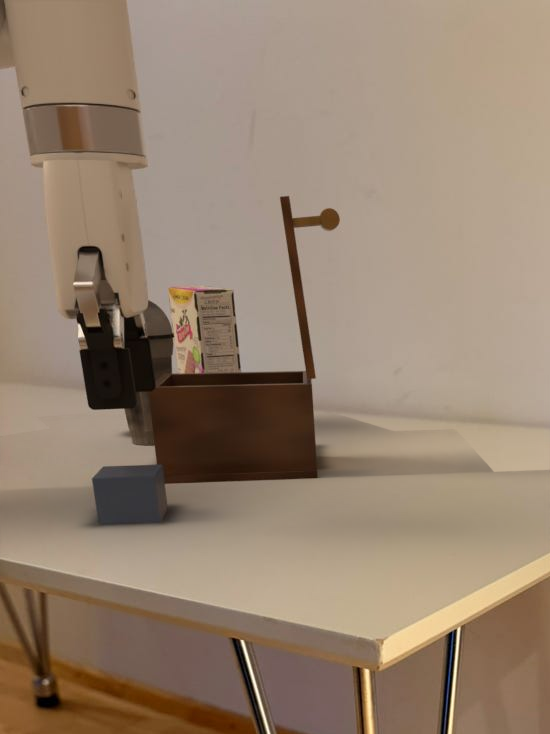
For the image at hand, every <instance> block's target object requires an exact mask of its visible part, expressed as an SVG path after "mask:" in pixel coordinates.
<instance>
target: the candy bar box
mask: <svg viewBox="0 0 550 734" xmlns="http://www.w3.org/2000/svg"><path fill="white" fill-rule="evenodd" d="M167 292H168V299H169V300H168V302H169V310H170V316H171V327H172V332H173V334H174V338H173V343H174V349H175V357H176V365H177V373H224V372H242V366H241V358H240V357H241V355H240V346H239V336H238V333H239V332H238V325H237V317H236V306H235V296H234V295H235V294H234V289H231V288H223V287H216V286H207V285H182V286H180V285H179V286H177V285H176V286H170V287H167Z"/></svg>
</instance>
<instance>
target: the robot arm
mask: <svg viewBox="0 0 550 734" xmlns="http://www.w3.org/2000/svg"><path fill="white" fill-rule="evenodd" d="M133 47H134V46H133V40H132V32H131V24H130V18H129V8H128V0H0V70H5V69H10V68H14V70H15V75H16V80H17V87H18V93H19V99H20V104H21V110H22V116H23V122H24V129H25V134H26V141H27V146H28V152H29V156H30V157H29V159H30V165H31V166H32V167H33V168H38V169H41V168H42V180H43V181H42V183H43V185H42V186H43V199H44V209H45V218H46V227H47V237H48V244H49V252H50V261H51V267H52V269H51V270H52V276H53V284H54V292H55V299H56V306H57V310H58V313H59V314H60V315H61V316H62V317H63V318H64V319H67V320H76V323H77V340H78V345H79V357H80V363H81V369H82V376H83V382H84V388H85V394H86V400H87V406H88V407H89V408H90V410H93V411H99V410H100V411H102V410H124V409H129V408H134V407H135V406H136V405H137V397H136V392H150V391H153V390H154V389H155V388H156V383H155V376H154V369H153V361H152V354H151V346H150V339H149V338H147V327H146V323H145V319H144V315H143V311H144V310H145V309H146V308H147V307H148V300H149V294H148V293H149V292H148V290H149V289H148V281H147V271H146V263H145V254H144V246H143V239H142V231H141V225H140V224H141V223H140V217H139V209H138V203H137V201H138V200H137V198H136V197H137V196H136V190H135V184H134V183H135V182H134V178H133V177H134V176H133V171H132V170H142V169H145V168H148V167H149V166H148V158H147V150H146V141H145V135H144V127H143V126H144V125H143V120H142V119H143V117H142V111H141V103H140V95H139V88H138V79H137V78H138V77H137V71H136V64H135V56H134V48H133Z"/></svg>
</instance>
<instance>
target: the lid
mask: <svg viewBox="0 0 550 734" xmlns="http://www.w3.org/2000/svg"><path fill="white" fill-rule="evenodd" d="M279 201H280V208H281V214H282V221H283V227H284V234H285V241H286V245H287V246H286V248H287V253H288V254H287V255H288V262H289V269H290V274H291V281H292V287H293V295H294V301H295V308H296V314H297V321H298V325H299V326H298V328H299V335H300V342H301V347H302V348H301V349H302V354H303V362H304V367H305V371H306V375H307V379H311V380H312V379H313V380H314V379H317V375H316V369H315V362H314V355H313V347H312V341H311V334H310V327H309V321H308V315H307V307H306V300H305V294H304V293H305V292H304V286H303V281H302V280H303V279H302V273H301V267H300V259H299V253H298V245H297V239H296V232H295V229H297V228H308V227H320V228H321V229H322V230H324V231H326V232H332V231H334V230H335V229H336V228H337V227H338V226H339V224H340V223H341V222H340V220H341V219H340V214H339V213H338V211H337V210H335V209H334V208H332V207H326V208H324V209H323V210H322V211H321V212H320V214H319V215H312V216H299V217H293V211H292V206H291V199H290V196H289V195H283V196H279Z"/></svg>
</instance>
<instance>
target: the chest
mask: <svg viewBox="0 0 550 734" xmlns="http://www.w3.org/2000/svg"><path fill="white" fill-rule="evenodd" d="M155 383H156V388H155V389H154V390H153V391H150V392H148V396H149V404H150V412H151V420H152V429H153V437H154V445H153V446H154V452H155V453H154V454H155V462H156V465H163V474H164V482H165V485H170V484H197V483H198V484H199V483H201V484H202V483H225V482H226V483H228V482H254V481H255V482H257V481H281V480H284V481H285V480H307V479H308V480H310V479H319V476H318V459H317V444H316V443H317V442H316V430H315V429H316V427H315V414H314V413H315V411H314V395H313V381H312V379H307V375H306V370H285V371H284V370H283V371H280V370H279V371H277V370H276V371H275V370H274V371H241V372H224V373H178V372H177V373H173V372H172V374H163V375H162V376H161V377H160V378H159V379H158V380H156V381H155Z"/></svg>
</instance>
